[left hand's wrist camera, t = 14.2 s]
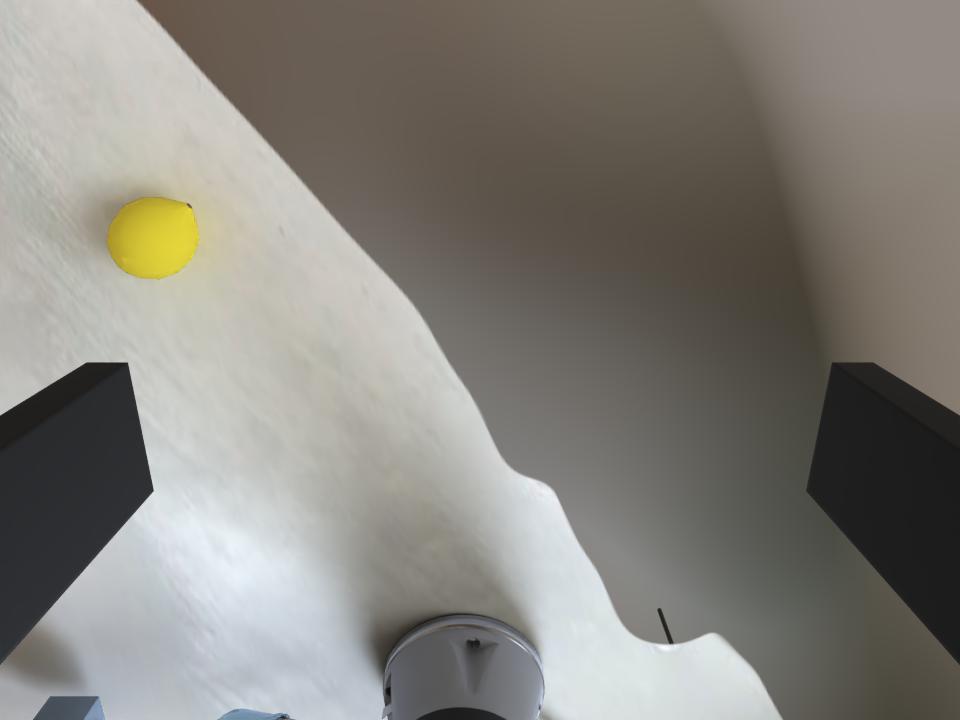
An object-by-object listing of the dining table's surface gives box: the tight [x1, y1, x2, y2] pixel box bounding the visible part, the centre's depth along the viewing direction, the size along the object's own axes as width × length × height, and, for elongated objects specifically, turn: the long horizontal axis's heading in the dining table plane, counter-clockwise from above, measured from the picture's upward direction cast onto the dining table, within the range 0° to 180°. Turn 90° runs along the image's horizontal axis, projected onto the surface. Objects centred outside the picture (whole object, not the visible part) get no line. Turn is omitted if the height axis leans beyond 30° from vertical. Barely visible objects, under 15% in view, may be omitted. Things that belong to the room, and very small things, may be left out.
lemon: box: [107, 197, 199, 279], centre depth 45 cm, size 7×5×5 cm
